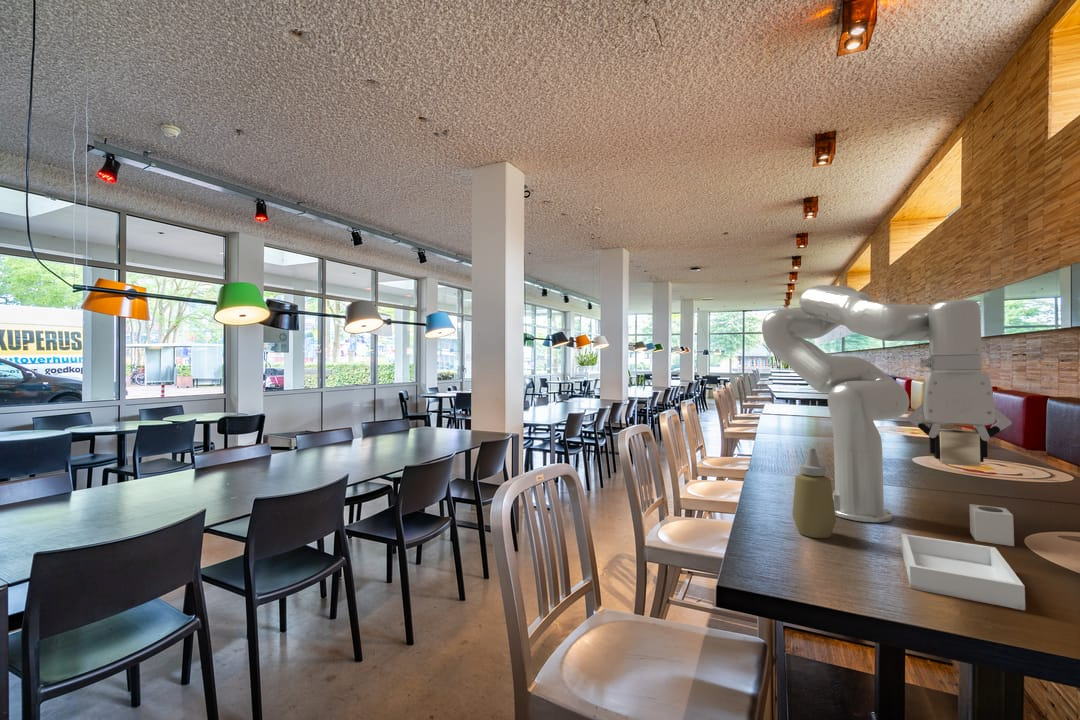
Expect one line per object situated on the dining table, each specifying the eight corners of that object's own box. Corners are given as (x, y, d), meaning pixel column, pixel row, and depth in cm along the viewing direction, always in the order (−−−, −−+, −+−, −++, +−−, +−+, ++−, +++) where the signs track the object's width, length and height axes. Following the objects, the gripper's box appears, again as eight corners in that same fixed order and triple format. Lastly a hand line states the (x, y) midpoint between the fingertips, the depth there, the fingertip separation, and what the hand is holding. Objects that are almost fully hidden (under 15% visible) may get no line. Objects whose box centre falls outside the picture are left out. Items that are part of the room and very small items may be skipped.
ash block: (941, 463, 89) (940, 431, 89) (937, 458, 94) (936, 428, 94) (980, 466, 86) (979, 433, 86) (974, 461, 91) (973, 429, 91)
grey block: (975, 541, 94) (974, 510, 94) (970, 532, 99) (969, 503, 99) (1014, 546, 91) (1013, 515, 91) (1006, 537, 95) (1005, 507, 96)
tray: (910, 588, 75) (909, 566, 75) (901, 552, 89) (901, 533, 89) (1025, 610, 67) (1024, 586, 68) (995, 567, 82) (995, 547, 82)
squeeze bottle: (821, 544, 94) (819, 453, 94) (784, 531, 101) (782, 447, 101) (845, 536, 97) (843, 449, 98) (807, 525, 104) (805, 444, 105)
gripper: (900, 365, 92) (903, 458, 92) (1023, 364, 82) (1026, 467, 82) (897, 365, 98) (900, 452, 98) (1011, 364, 89) (1014, 460, 88)
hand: (957, 458), depth 90 cm, fingers closed on ash block, 5 cm apart
